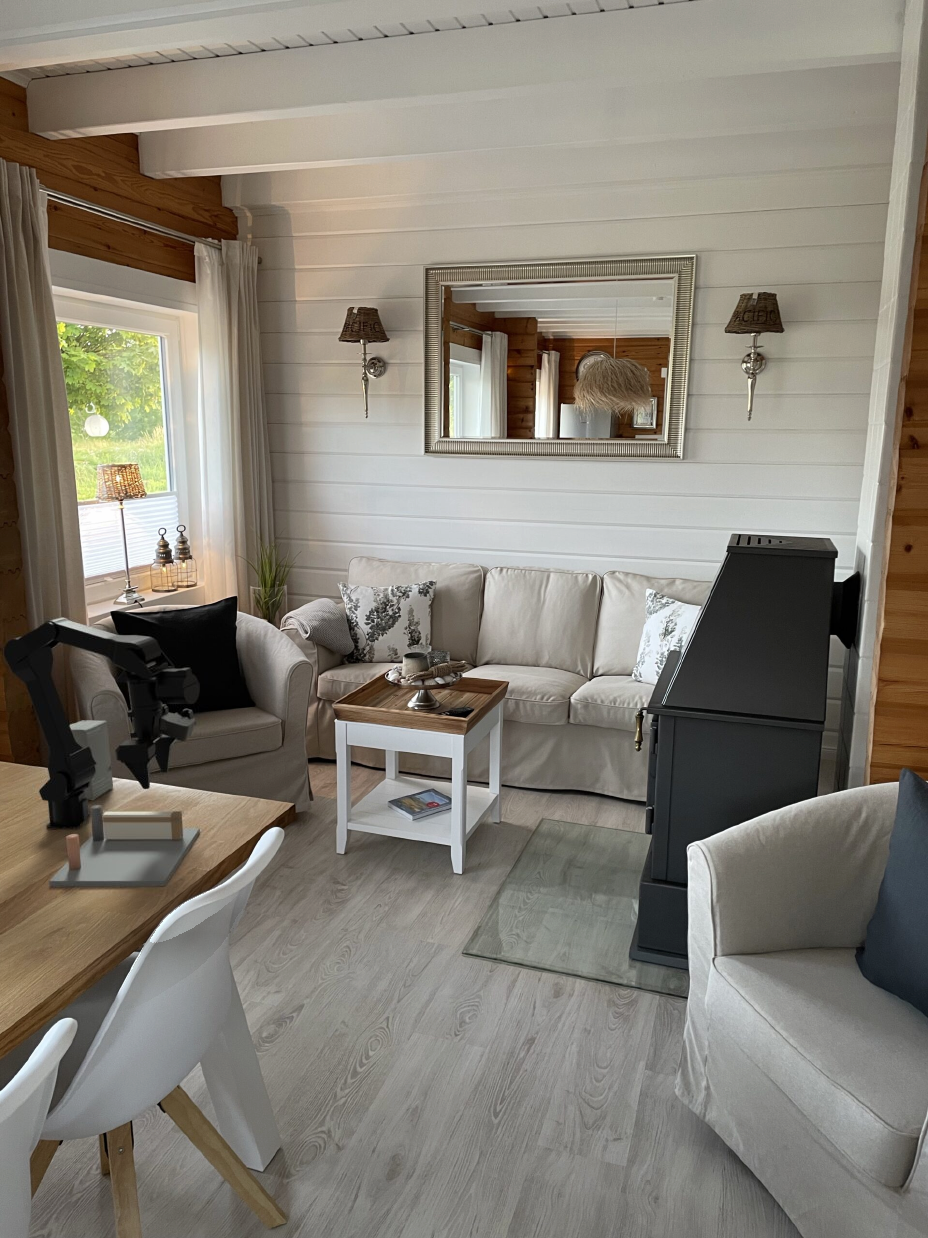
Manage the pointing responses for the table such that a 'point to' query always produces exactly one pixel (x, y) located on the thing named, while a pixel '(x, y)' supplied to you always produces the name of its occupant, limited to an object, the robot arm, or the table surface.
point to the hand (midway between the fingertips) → (156, 780)
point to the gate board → (121, 858)
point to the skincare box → (95, 754)
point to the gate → (143, 825)
